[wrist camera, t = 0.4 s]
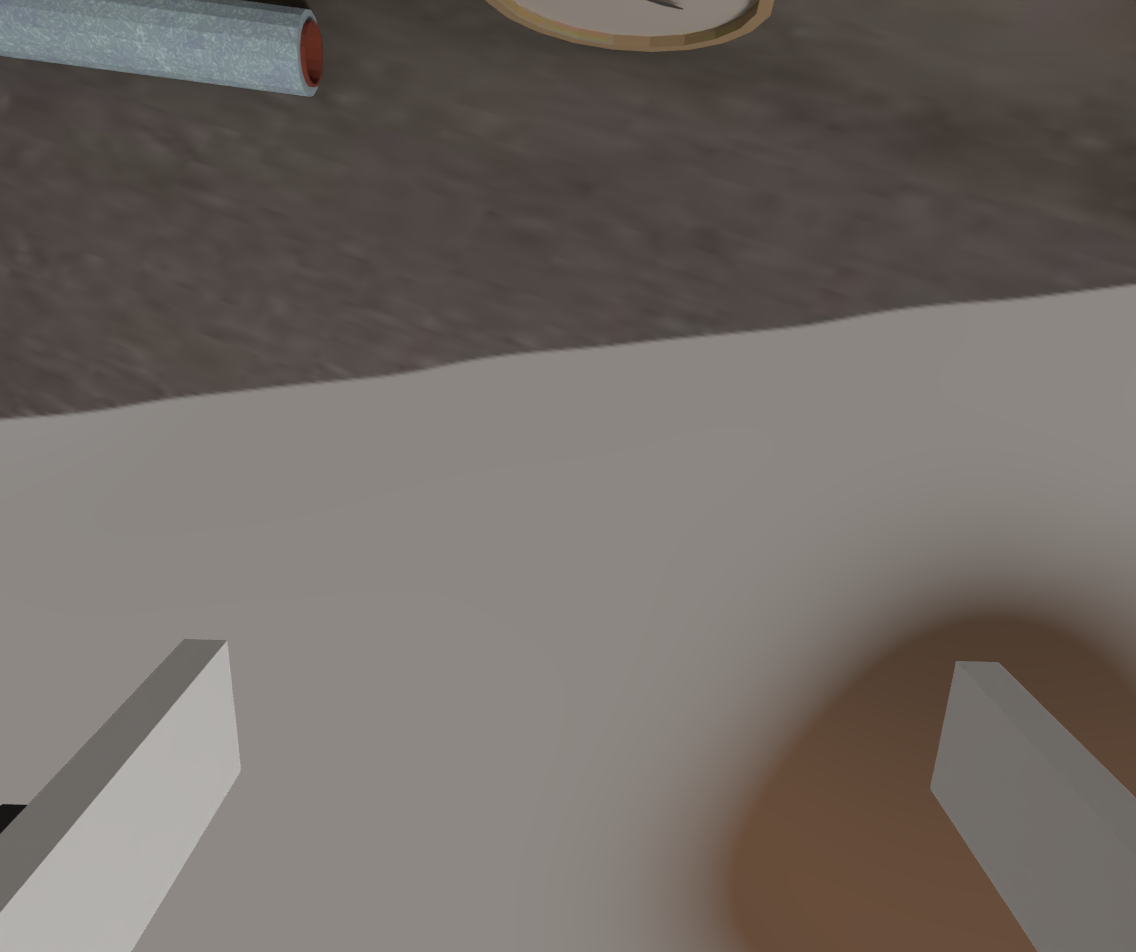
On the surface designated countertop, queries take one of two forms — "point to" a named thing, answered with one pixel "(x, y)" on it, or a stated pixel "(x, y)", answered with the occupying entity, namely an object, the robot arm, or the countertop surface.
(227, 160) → the countertop surface
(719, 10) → the alarm clock
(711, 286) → the countertop surface
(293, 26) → the aluminum foil
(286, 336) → the countertop surface
